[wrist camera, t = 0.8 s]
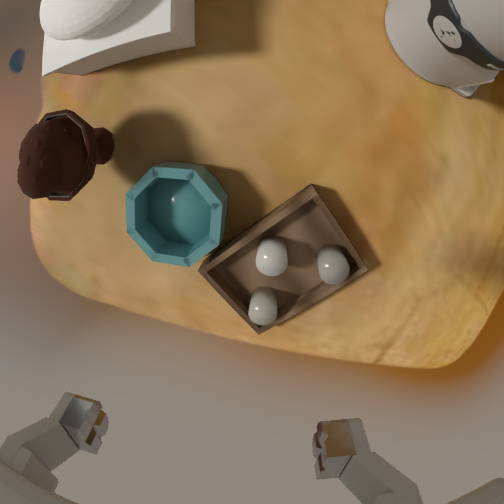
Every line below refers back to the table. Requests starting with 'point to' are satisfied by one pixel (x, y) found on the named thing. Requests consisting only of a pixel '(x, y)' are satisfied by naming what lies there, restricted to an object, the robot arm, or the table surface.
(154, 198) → the bowl
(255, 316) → the pebble
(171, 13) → the butter dish
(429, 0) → the robot arm
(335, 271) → the pebble
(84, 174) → the ice cream bowl
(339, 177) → the table surface
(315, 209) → the tray
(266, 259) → the pebble
